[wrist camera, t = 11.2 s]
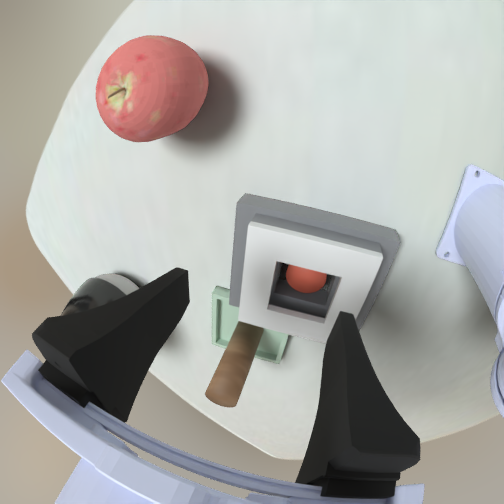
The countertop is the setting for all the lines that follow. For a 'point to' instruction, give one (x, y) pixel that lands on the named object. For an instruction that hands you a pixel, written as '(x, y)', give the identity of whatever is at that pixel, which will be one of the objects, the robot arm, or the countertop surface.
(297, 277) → the button
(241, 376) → the brown wooden cylinder
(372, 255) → the box
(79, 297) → the pump dispenser
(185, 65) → the apple
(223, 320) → the rest tray
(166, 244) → the countertop surface
